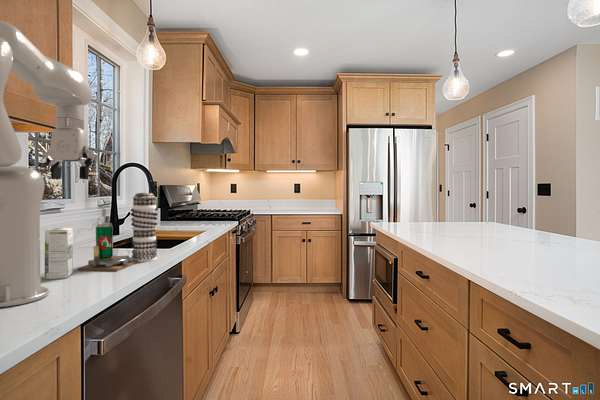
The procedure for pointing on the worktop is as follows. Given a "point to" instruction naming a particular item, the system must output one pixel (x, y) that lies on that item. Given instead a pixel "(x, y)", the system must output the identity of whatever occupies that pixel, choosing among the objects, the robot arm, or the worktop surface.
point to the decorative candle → (144, 227)
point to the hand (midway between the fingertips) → (70, 179)
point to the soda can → (104, 240)
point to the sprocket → (108, 260)
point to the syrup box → (58, 253)
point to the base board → (104, 268)
